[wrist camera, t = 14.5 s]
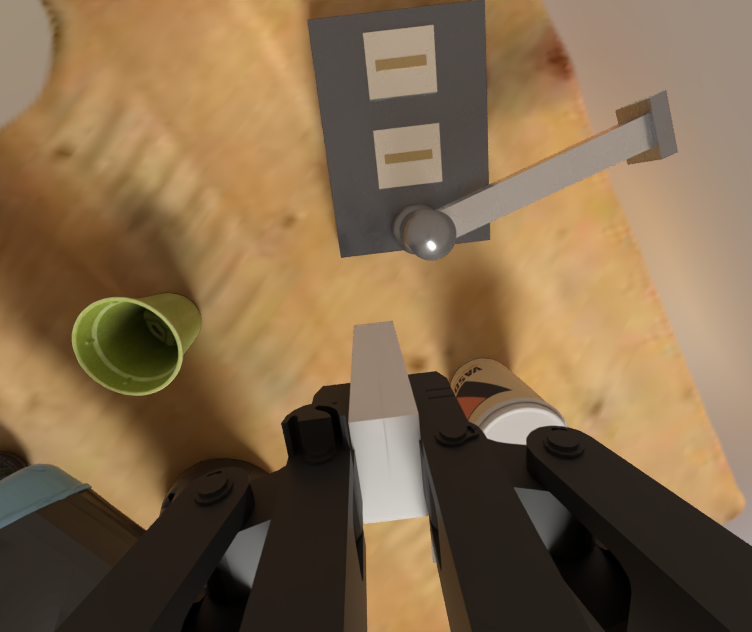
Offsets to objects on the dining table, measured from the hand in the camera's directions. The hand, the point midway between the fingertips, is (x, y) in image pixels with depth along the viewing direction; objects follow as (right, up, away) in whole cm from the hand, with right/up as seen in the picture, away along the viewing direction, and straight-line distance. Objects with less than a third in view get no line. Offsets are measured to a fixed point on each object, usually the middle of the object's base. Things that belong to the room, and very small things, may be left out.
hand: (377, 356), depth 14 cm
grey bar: (+12, +13, +17) cm, 25 cm away
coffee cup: (+13, -7, +30) cm, 34 cm away
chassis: (+3, +19, +22) cm, 29 cm away
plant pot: (-22, +1, +27) cm, 35 cm away
